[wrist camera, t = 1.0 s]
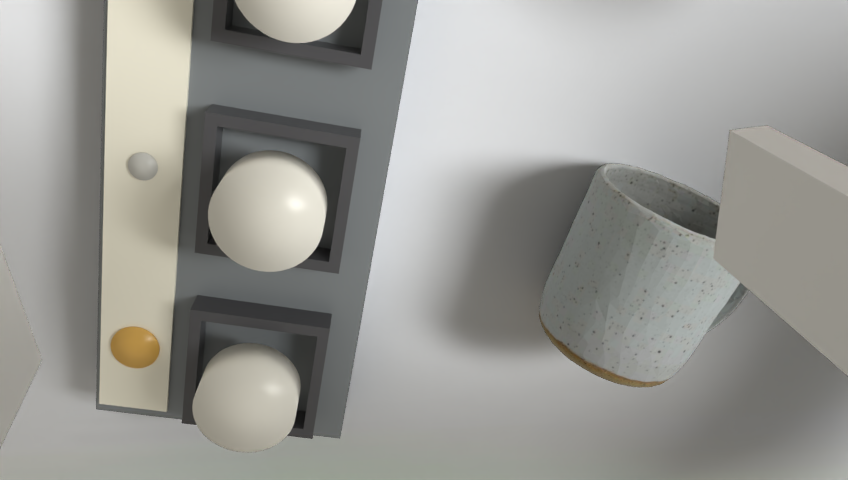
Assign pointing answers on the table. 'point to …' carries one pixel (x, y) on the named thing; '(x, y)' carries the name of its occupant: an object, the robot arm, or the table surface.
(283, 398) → the button
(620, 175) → the ceramic mug
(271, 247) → the middle button
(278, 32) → the button
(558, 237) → the table surface
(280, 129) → the button board
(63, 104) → the table surface
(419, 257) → the table surface
